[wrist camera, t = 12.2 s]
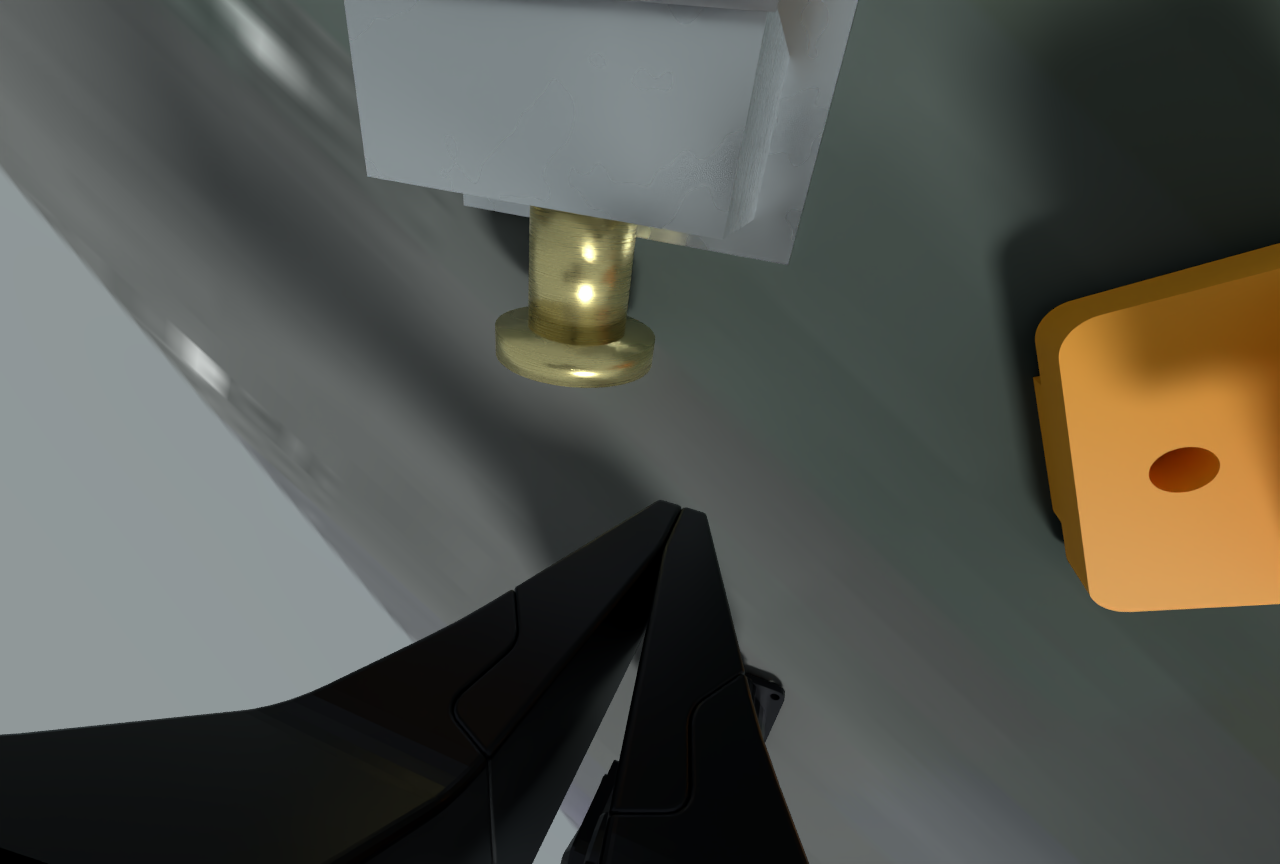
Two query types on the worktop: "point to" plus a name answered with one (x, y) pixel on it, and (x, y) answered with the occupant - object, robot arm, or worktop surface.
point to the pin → (576, 306)
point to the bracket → (1168, 435)
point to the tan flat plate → (724, 4)
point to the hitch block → (605, 109)
